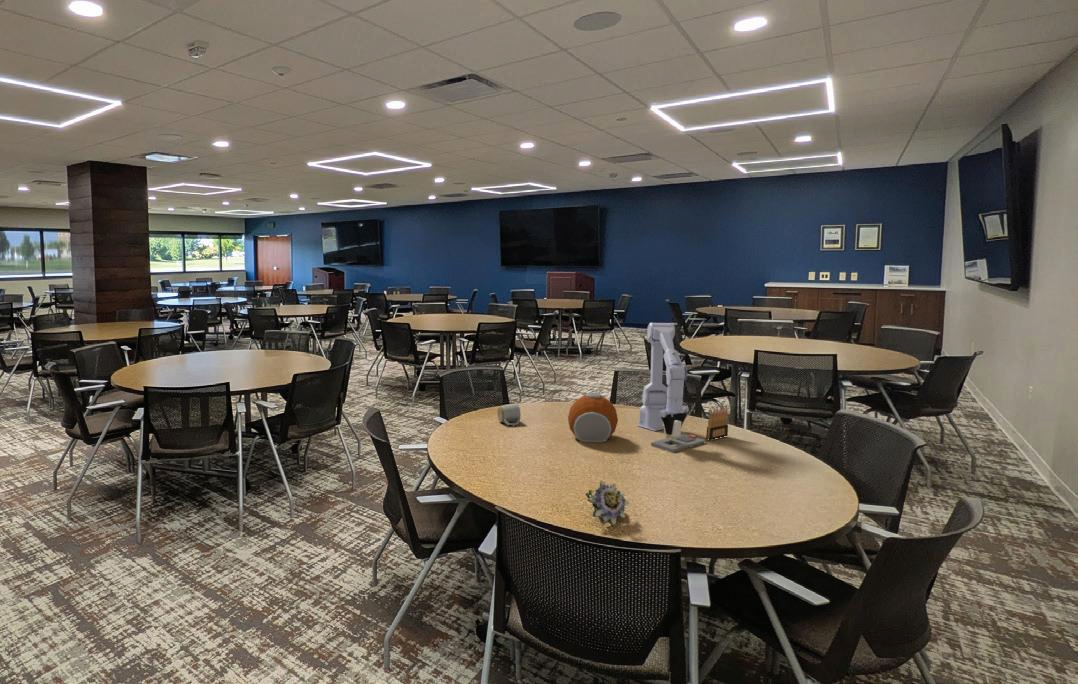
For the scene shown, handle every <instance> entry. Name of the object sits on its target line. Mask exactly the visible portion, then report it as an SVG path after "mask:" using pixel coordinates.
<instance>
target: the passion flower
mask: <svg viewBox="0 0 1078 684" xmlns="http://www.w3.org/2000/svg"><path fill="white" fill-rule="evenodd" d="M598 486H599V487H598V489H595V490H593V489H589V490H588V492H586V493H585V496H586V497H587V498H588V499H587V501H588V502H589V503H591V504H592V508H593V511H592V516H593V518H594V517H595V518H596V517H601V521H602V522H603V524H606V523H607V522H608V523H609V524H610V526H615V525H616V523H617V517H620V518H622V519H625V517H626V513H625V511H626V510H625V509H626V507H625V506H628V505H630V500H627V499H626V498H625V492H622V491H620V490H618V488H617V484H616V483H612V484H611V485H609V484H605V482H604V480H599V485H598ZM594 492H595V493H594ZM593 493H594V494H593Z"/></svg>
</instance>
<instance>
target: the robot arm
mask: <svg viewBox="0 0 1078 684" xmlns="http://www.w3.org/2000/svg"><path fill="white" fill-rule="evenodd" d="M675 334H676V327H675V324H674V323H673V322H649V324H648V325H647V331H646V340H647V341H646V342H648V343H650V348H651V350H650V380H649V381H650V382H648V383H647V384H646V385H645V386H643V388H642V396H641V400H642V404H643V405H642V406H641V407H640V409H639V416H638V417H639V419H638V424H637V427H641V428H644V429H646V430H651V431H654V432H657V431H661V430H664V426H665V431H666V434H668V435H671V434H672V430H673V424H674V421H675V420H678V421H681V428H682V427H683V424H684V421H685V420H686V418H687V417H688V414H687V413H688V412H689V406H685V405H683V401H684V386H685V385H684V384H685V383H684V382H685V381H686V379H687V377H688V370H687V366H686V365H685V363H683V362H682V360H681V357H680V355H679V354H680V353H679V351H678V350H676V349H675V346H674V341H673V340H674V337H675ZM664 364H665V367H666V369H665V377H666V385H667V386H665V384H663V368H664V366H663V365H664ZM666 434H665V435H666Z"/></svg>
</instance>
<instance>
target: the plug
mask: <svg viewBox="0 0 1078 684" xmlns="http://www.w3.org/2000/svg"><path fill="white" fill-rule="evenodd" d="M663 426H664V425H663ZM663 434H664V435H665V439H666V438H668V439H669V438H670V437H671V440H675V437H676V436H678V435H681V434H682V427H681V421H678V420H675V421H674V424H673V430H672V434H671V435H668V434H666V431H665V426H664V429H663Z"/></svg>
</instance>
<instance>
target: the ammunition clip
mask: <svg viewBox="0 0 1078 684" xmlns="http://www.w3.org/2000/svg"><path fill="white" fill-rule="evenodd" d="M728 432H729V424H728V408H727V406H726V407H725V408H724V407H722V409H721V408H719V409H718V408H716V410H715V408H714V409H713V410H712V409H710V411H709V415H708V423H707V426H706V436H705V440H706V439H709V440H711V439H715V438H720V437H724V436H728V434H729V433H728ZM709 440H708V441H709Z"/></svg>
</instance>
